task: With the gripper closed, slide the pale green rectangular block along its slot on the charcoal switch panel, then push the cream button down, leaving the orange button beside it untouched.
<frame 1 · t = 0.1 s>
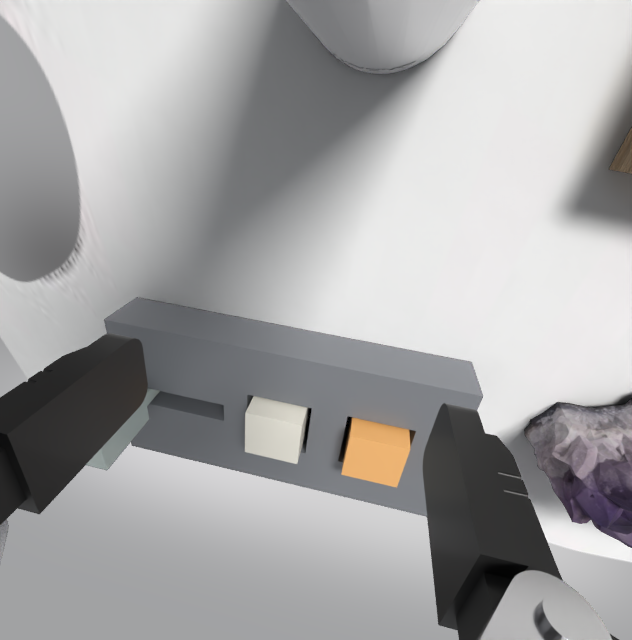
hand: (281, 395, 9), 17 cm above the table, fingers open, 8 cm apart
switch panel: (289, 393, 32), on the table
orange button: (375, 442, 28), point 3 cm above the table, slide at 0.0 cm
pale green rectangular block: (132, 404, 29), point 5 cm above the table, slide at 0.0 cm
cream button: (279, 420, 29), point 3 cm above the table, slide at 0.0 cm
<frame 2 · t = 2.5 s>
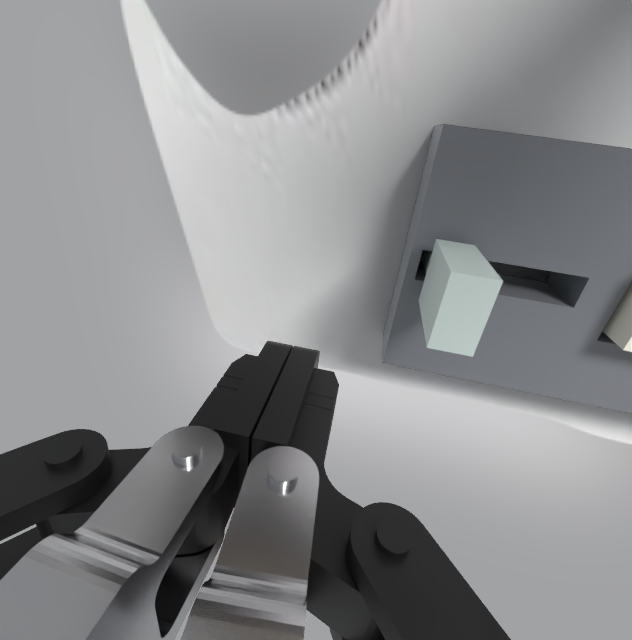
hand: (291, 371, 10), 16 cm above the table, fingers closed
switch panel: (628, 281, 22), on the table
pale green rectangular block: (446, 276, 19), point 5 cm above the table, slide at 0.0 cm
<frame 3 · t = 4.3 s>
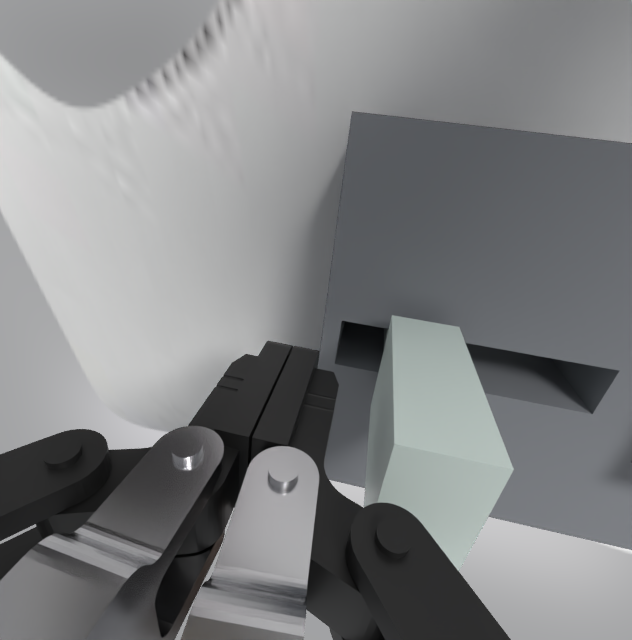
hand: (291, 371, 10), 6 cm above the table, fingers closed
pale green rectangular block: (412, 376, 11), point 5 cm above the table, slide at 1.1 cm, touching gripper
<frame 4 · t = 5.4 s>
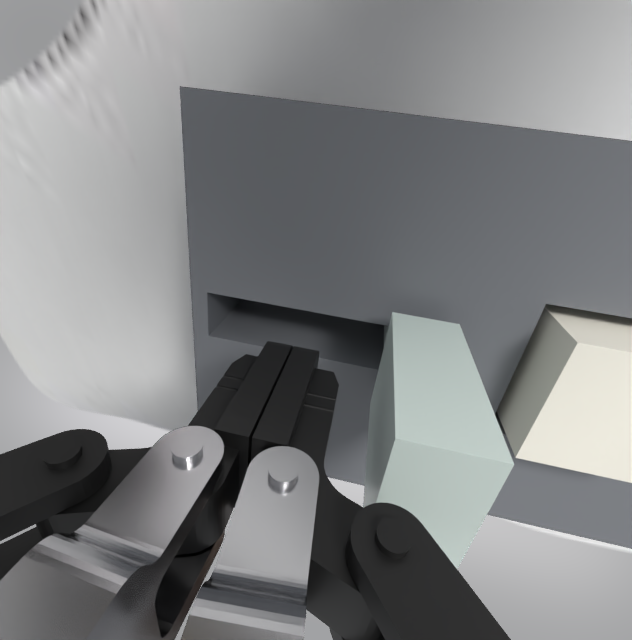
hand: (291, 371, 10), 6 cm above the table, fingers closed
switch panel: (547, 331, 15), on the table
pale green rectangular block: (412, 374, 11), point 5 cm above the table, slide at 6.0 cm, touching gripper
cream button: (588, 380, 12), point 3 cm above the table, slide at 0.0 cm
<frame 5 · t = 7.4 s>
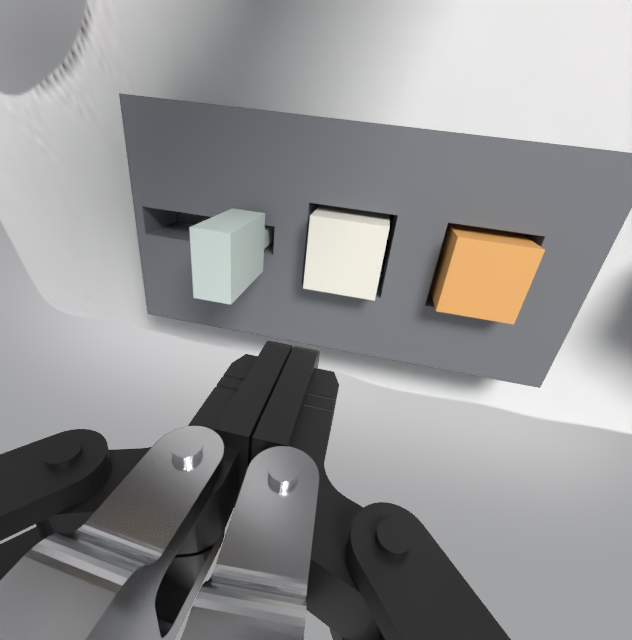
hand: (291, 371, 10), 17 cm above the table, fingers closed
switch panel: (352, 236, 25), on the table
orange button: (478, 270, 21), point 3 cm above the table, slide at 0.0 cm
pale green rectangular block: (246, 242, 21), point 5 cm above the table, slide at 6.0 cm
cream button: (347, 250, 22), point 4 cm above the table, slide at 0.0 cm
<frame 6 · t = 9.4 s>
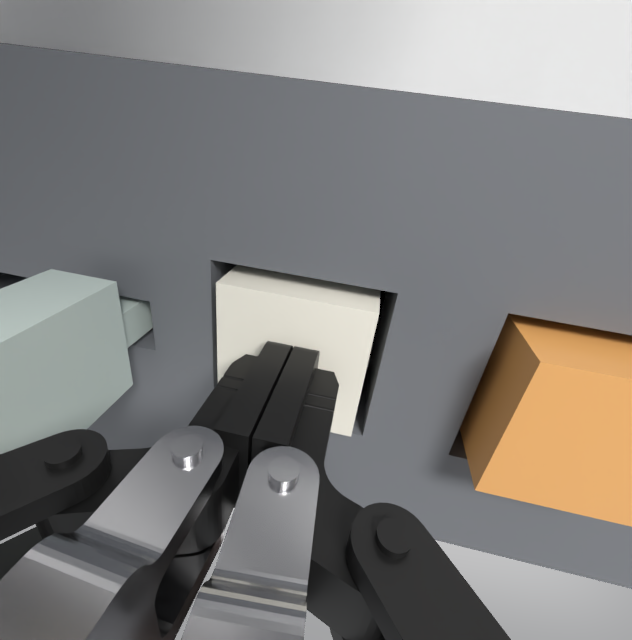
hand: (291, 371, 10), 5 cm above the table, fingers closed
switch panel: (316, 302, 14), on the table
orange button: (561, 400, 10), point 3 cm above the table, slide at 0.0 cm
pale green rectangular block: (85, 337, 10), point 5 cm above the table, slide at 6.0 cm
cream button: (303, 332, 12), point 3 cm above the table, slide at 1.0 cm, touching gripper
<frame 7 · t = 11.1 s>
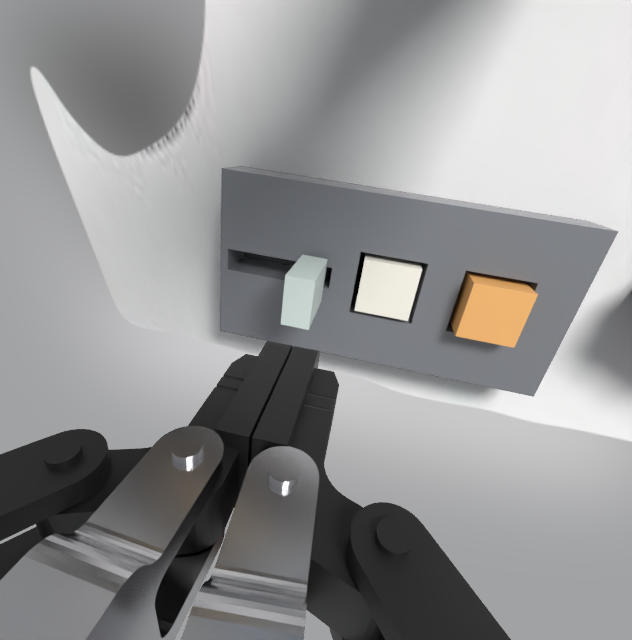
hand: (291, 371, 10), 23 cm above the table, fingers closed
switch panel: (386, 273, 32), on the table
orange button: (488, 305, 28), point 3 cm above the table, slide at 0.0 cm
pale green rectangular block: (311, 280, 28), point 5 cm above the table, slide at 6.0 cm
cream button: (386, 282, 30), point 2 cm above the table, slide at 1.1 cm
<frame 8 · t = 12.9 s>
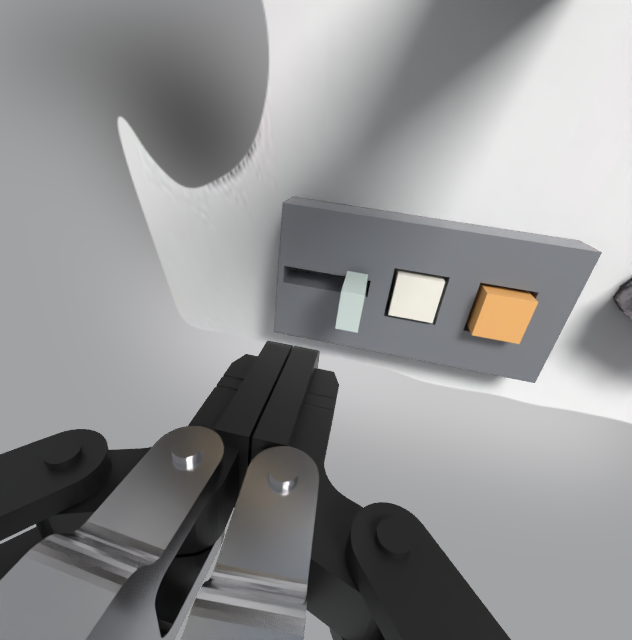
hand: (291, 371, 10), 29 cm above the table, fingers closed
switch panel: (412, 283, 38), on the table
orange button: (497, 310, 34), point 3 cm above the table, slide at 0.0 cm
pale green rectangular block: (354, 291, 34), point 5 cm above the table, slide at 6.0 cm
cream button: (414, 291, 36), point 2 cm above the table, slide at 1.1 cm
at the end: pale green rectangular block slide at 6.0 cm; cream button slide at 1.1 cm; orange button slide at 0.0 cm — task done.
